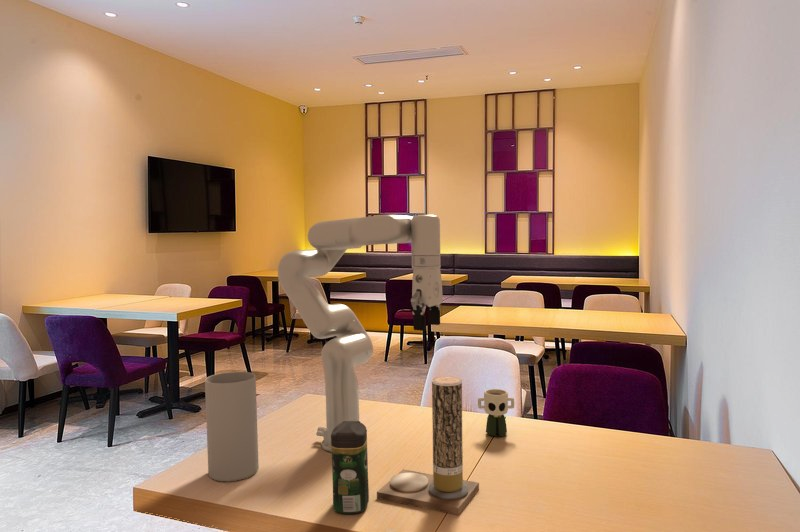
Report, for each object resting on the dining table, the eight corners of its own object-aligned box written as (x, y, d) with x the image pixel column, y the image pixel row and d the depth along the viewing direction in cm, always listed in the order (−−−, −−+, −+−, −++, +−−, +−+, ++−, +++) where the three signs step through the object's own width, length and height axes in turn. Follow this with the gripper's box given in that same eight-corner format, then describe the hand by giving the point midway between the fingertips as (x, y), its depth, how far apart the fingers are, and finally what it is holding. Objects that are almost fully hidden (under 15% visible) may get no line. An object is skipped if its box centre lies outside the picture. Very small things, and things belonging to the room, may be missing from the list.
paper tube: (464, 481, 136) (463, 376, 135) (461, 494, 129) (460, 384, 128) (435, 479, 137) (434, 375, 136) (431, 492, 131) (429, 383, 129)
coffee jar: (337, 495, 135) (335, 417, 134) (370, 496, 135) (369, 417, 134) (329, 515, 125) (327, 431, 124) (365, 516, 125) (363, 431, 124)
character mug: (479, 438, 171) (478, 395, 170) (477, 430, 178) (476, 388, 178) (516, 438, 170) (515, 395, 170) (513, 430, 178) (512, 388, 177)
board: (376, 498, 133) (376, 488, 133) (403, 475, 146) (403, 466, 146) (458, 515, 125) (458, 504, 124) (479, 488, 137) (478, 479, 137)
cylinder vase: (268, 468, 152) (265, 374, 151) (234, 486, 141) (230, 385, 140) (233, 460, 158) (230, 370, 157) (197, 477, 147) (194, 380, 146)
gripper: (426, 264, 141) (427, 333, 142) (451, 260, 157) (452, 323, 158) (398, 264, 145) (399, 331, 146) (426, 260, 160) (427, 322, 161)
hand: (427, 327), depth 152 cm, fingers open, 9 cm apart
